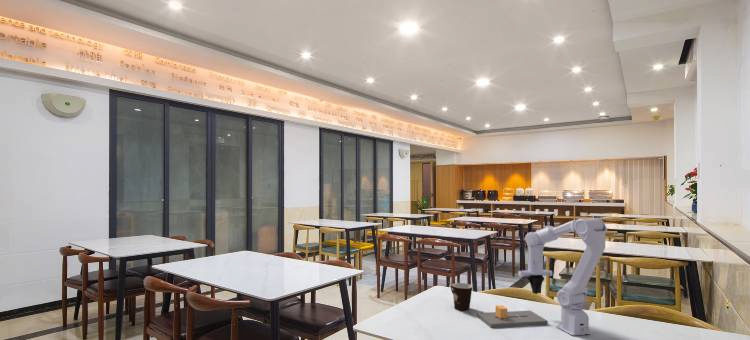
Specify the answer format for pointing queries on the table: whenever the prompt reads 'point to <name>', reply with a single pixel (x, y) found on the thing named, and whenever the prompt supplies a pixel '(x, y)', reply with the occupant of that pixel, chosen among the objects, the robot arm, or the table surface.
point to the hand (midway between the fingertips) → (535, 293)
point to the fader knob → (501, 311)
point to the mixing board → (512, 319)
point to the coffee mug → (461, 296)
